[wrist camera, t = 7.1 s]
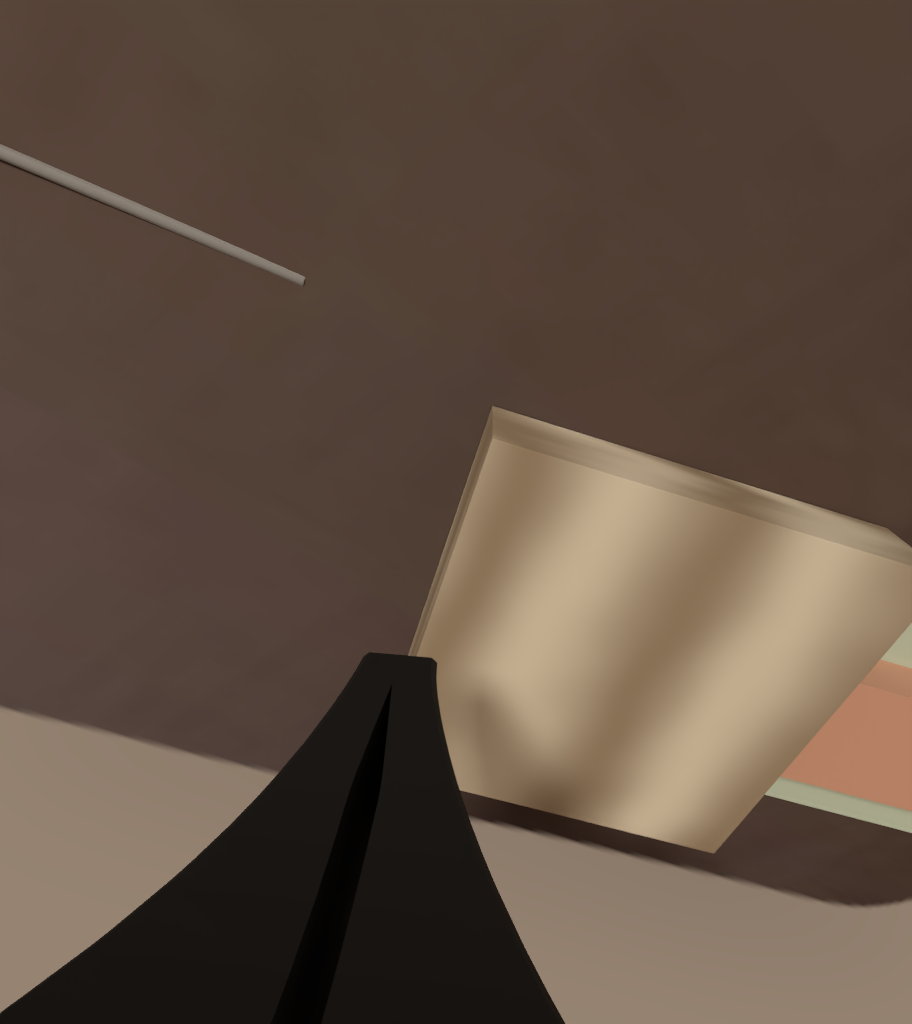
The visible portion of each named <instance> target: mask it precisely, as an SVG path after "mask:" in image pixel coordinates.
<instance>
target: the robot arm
mask: <svg viewBox="0 0 912 1024" xmlns="http://www.w3.org/2000/svg"><path fill="white" fill-rule="evenodd" d="M0 1024H565V1023H564V1021H563V1019H562V1017H561V1015H560V1013H559V1012H558V1010H557V1008H556V1006H555V1005H554V1003H553V1001H552V999H551V997H550V995H549V994H548V992H547V990H546V988H545V986H544V984H543V982H542V980H541V978H540V976H539V974H538V972H537V971H536V969H535V967H534V965H533V963H532V961H531V959H530V957H529V955H528V954H527V951H526V949H525V948H524V945H523V943H522V941H521V939H520V937H519V935H518V933H517V931H516V928H515V926H514V924H513V922H512V920H511V918H510V916H509V913H508V911H507V909H506V907H505V905H504V903H503V901H502V898H501V896H500V894H499V892H498V890H497V888H496V885H495V883H494V881H493V878H492V876H491V874H490V871H489V869H488V866H487V864H486V861H485V859H484V857H483V854H482V852H481V849H480V846H479V844H478V841H477V839H476V836H475V833H474V831H473V828H472V825H471V823H470V820H469V817H468V814H467V811H466V808H465V805H464V802H463V799H462V796H461V793H460V790H459V786H458V783H457V780H456V777H455V773H454V770H453V766H452V762H451V759H450V755H449V751H448V746H447V742H446V738H445V734H444V729H443V725H442V720H441V714H440V708H439V701H438V693H437V662H436V661H435V660H434V659H433V658H430V657H418V656H406V655H394V654H382V653H370V652H369V653H368V654H367V655H365V656H364V657H363V659H362V660H361V662H360V664H359V666H358V667H357V669H356V671H355V672H354V674H353V676H352V677H351V679H350V680H349V682H348V683H347V685H346V686H345V688H344V689H343V691H342V692H341V694H340V695H339V697H338V698H337V700H336V701H335V702H334V704H333V705H332V707H331V708H330V709H329V711H328V712H327V713H326V715H325V716H324V717H323V719H322V720H321V721H320V723H319V724H318V725H317V727H316V728H315V729H314V731H313V732H312V733H311V735H310V736H309V737H308V739H307V740H306V741H305V742H304V744H303V745H302V746H301V747H300V748H299V750H298V751H297V752H296V753H295V754H294V755H293V757H292V758H291V759H290V760H289V761H288V763H287V764H286V765H285V766H284V767H283V769H282V770H281V771H280V772H279V773H278V775H277V776H276V777H275V778H274V779H273V780H272V781H271V782H270V784H269V785H268V786H267V787H266V788H265V789H264V790H263V791H262V792H261V793H260V795H259V796H258V797H257V798H256V799H255V800H254V801H253V802H252V803H251V804H250V805H249V806H248V807H247V808H246V809H245V810H244V811H243V812H242V813H241V814H240V815H239V816H238V817H237V818H236V820H235V821H234V822H233V823H232V824H231V825H230V826H229V827H228V828H227V829H225V831H223V832H222V833H221V834H220V835H219V836H218V837H217V838H216V839H215V840H214V841H213V842H212V843H211V844H210V845H209V846H208V847H207V848H206V849H204V850H203V851H202V852H201V853H200V854H199V855H198V856H197V857H196V858H195V859H194V860H193V861H192V862H191V863H189V864H188V865H187V866H186V867H185V868H184V869H183V870H182V871H181V872H179V873H178V874H177V875H176V876H175V877H174V878H173V879H172V880H170V881H169V882H168V883H167V884H166V885H164V886H163V887H162V888H161V889H160V890H158V891H157V892H156V893H155V894H154V895H152V896H151V897H150V898H149V899H148V900H146V901H145V902H144V903H143V904H142V905H140V906H139V907H138V908H137V909H136V910H134V911H133V912H132V913H131V914H130V915H128V916H127V917H126V918H125V919H124V920H122V921H121V922H120V923H119V924H118V925H116V926H115V927H114V928H113V929H112V930H110V931H109V932H108V933H107V934H105V935H104V936H103V937H102V938H100V939H99V940H98V941H96V942H95V943H94V944H92V945H91V946H90V947H89V948H87V949H86V950H84V951H83V952H82V953H80V954H79V955H78V956H77V957H75V958H74V959H72V960H71V961H70V962H68V963H67V964H66V965H64V966H63V967H62V968H60V969H59V970H58V971H56V972H55V973H54V974H52V975H51V976H49V977H48V978H47V979H46V980H44V981H43V982H41V983H40V984H39V985H37V986H36V987H35V988H33V989H32V990H31V991H29V992H28V993H27V994H25V995H24V996H23V997H21V998H20V999H18V1000H17V1001H16V1002H14V1003H13V1004H11V1005H10V1006H9V1007H7V1008H6V1009H5V1010H3V1011H2V1012H1V1013H0Z"/></svg>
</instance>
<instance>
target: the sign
mask: <svg viewBox="0 0 912 1024" xmlns="http://www.w3.org/2000/svg"><path fill="white" fill-rule="evenodd" d="M0 159H1V160H3V161H5V162H8V163H10V164H12V165H15V166H17V167H20V168H22V169H24V170H27V171H29V172H31V173H34V174H36V175H38V176H41V177H43V178H46V179H48V180H50V181H53V182H55V183H57V184H60V185H62V186H65V187H67V188H69V189H72V190H74V191H76V192H79V193H81V194H83V195H86V196H88V197H91V198H93V199H95V200H98V201H100V202H102V203H105V204H107V205H110V206H112V207H114V208H117V209H119V210H121V211H124V212H126V213H128V214H131V215H133V216H136V217H138V218H140V219H143V220H145V221H148V222H150V223H152V224H155V225H157V226H160V227H162V228H164V229H167V230H169V231H171V232H174V233H176V234H179V235H181V236H183V237H186V238H188V239H191V240H193V241H195V242H198V243H200V244H203V245H205V246H207V247H210V248H212V249H214V250H217V251H219V252H222V253H224V254H227V255H229V256H231V257H234V258H236V259H239V260H241V261H243V262H246V263H248V264H251V265H253V266H256V267H258V268H260V269H263V270H265V271H268V272H270V273H273V274H275V275H277V276H280V277H282V278H285V279H287V280H290V281H292V282H294V283H297V284H299V285H302V286H303V284H304V281H305V277H304V276H301V275H299V274H297V273H295V272H292V271H290V270H288V269H286V268H283V267H281V266H279V265H277V264H274V263H272V262H270V261H268V260H265V259H263V258H261V257H259V256H256V255H254V254H252V253H250V252H247V251H245V250H243V249H241V248H238V247H236V246H234V245H232V244H229V243H227V242H225V241H222V240H220V239H218V238H216V237H213V236H211V235H209V234H206V233H204V232H202V231H200V230H197V229H195V228H193V227H190V226H188V225H186V224H184V223H181V222H179V221H177V220H174V219H172V218H170V217H168V216H165V215H163V214H161V213H158V212H156V211H154V210H152V209H149V208H147V207H145V206H142V205H140V204H138V203H136V202H133V201H131V200H129V199H126V198H124V197H122V196H119V195H117V194H115V193H112V192H110V191H108V190H106V189H103V188H101V187H99V186H96V185H94V184H92V183H89V182H87V181H85V180H82V179H80V178H78V177H75V176H73V175H71V174H68V173H66V172H64V171H62V170H59V169H57V168H55V167H52V166H50V165H48V164H45V163H43V162H41V161H38V160H36V159H34V158H31V157H29V156H27V155H24V154H22V153H20V152H18V151H15V150H13V149H11V148H8V147H6V146H3V145H1V144H0Z"/></svg>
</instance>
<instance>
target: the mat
mask: <svg viewBox="0 0 912 1024" xmlns="http://www.w3.org/2000/svg"><path fill="white" fill-rule="evenodd" d="M881 660H884V661H888V662H891V663H894V664H898V665H901V666H905V667H908V668H912V623H911V624H910V625H909V626H908V628H907V629H906V630H905V631H904V632H903V633H902V635H901V636H900V637H899V638H898V639H897V640H896V642H895V643H894V644H893V645H892V646H891V647H890V649H889V650H888V651H887V652H886V653H885V654H884V656H883V657H882V658H881ZM764 795H768V796H772V797H776V798H780V799H784V800H787V801H791V802H795V803H799V804H803V805H807V806H810V807H814V808H818V809H822V810H826V811H830V812H833V813H837V814H841V815H845V816H849V817H853V818H856V819H860V820H864V821H868V822H872V823H876V824H879V825H883V826H887V827H891V828H895V829H899V830H902V831H906V832H910V833H912V811H909V810H905V809H901V808H897V807H893V806H890V805H886V804H882V803H878V802H875V801H871V800H867V799H863V798H859V797H856V796H852V795H848V794H844V793H841V792H837V791H833V790H829V789H825V788H822V787H818V786H814V785H810V784H807V783H803V782H799V781H795V780H791V779H788V778H784V777H779V778H778V779H777V780H776V782H775V783H774V784H773V785H772V786H771V787H770V789H769V790H768V791H767V792H766V793H765V794H764Z"/></svg>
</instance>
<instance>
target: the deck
mask: <svg viewBox="0 0 912 1024" xmlns="http://www.w3.org/2000/svg"><path fill="white" fill-rule="evenodd" d="M911 623H912V548H911V547H910V546H909V545H908V544H906V543H905V542H904V541H902V540H901V539H900V538H899V537H897V536H896V535H895V534H894V533H892V532H891V531H890V530H888V529H887V528H885V527H881V526H878V525H875V524H872V523H868V522H865V521H862V520H859V519H856V518H852V517H849V516H846V515H843V514H839V513H836V512H833V511H830V510H826V509H823V508H820V507H817V506H814V505H810V504H807V503H804V502H801V501H797V500H794V499H791V498H788V497H785V496H781V495H778V494H775V493H772V492H768V491H765V490H762V489H759V488H756V487H752V486H749V485H746V484H743V483H739V482H736V481H733V480H730V479H726V478H723V477H720V476H717V475H714V474H710V473H707V472H704V471H701V470H697V469H694V468H691V467H688V466H685V465H681V464H678V463H675V462H672V461H668V460H665V459H662V458H659V457H655V456H652V455H649V454H646V453H643V452H639V451H636V450H633V449H630V448H626V447H623V446H620V445H617V444H614V443H610V442H607V441H604V440H601V439H597V438H594V437H591V436H588V435H584V434H581V433H578V432H575V431H572V430H568V429H565V428H562V427H559V426H555V425H552V424H549V423H546V422H543V421H539V420H536V419H533V418H530V417H526V416H523V415H520V414H517V413H514V412H510V411H507V410H504V409H501V408H497V407H494V406H492V409H491V412H490V415H489V418H488V421H487V424H486V427H485V429H484V432H483V435H482V438H481V441H480V444H479V447H478V450H477V453H476V456H475V459H474V462H473V465H472V468H471V471H470V474H469V477H468V480H467V483H466V486H465V488H464V491H463V494H462V497H461V500H460V503H459V506H458V509H457V512H456V515H455V518H454V521H453V524H452V527H451V530H450V533H449V536H448V539H447V542H446V544H445V547H444V550H443V553H442V556H441V559H440V562H439V565H438V568H437V571H436V574H435V577H434V580H433V583H432V586H431V589H430V592H429V595H428V598H427V601H426V603H425V606H424V609H423V612H422V615H421V618H420V621H419V624H418V627H417V630H416V633H415V636H414V639H413V642H412V645H411V648H410V651H409V654H408V656H418V657H430V658H433V659H434V660H435V661H436V662H437V693H438V701H439V708H440V714H441V720H442V725H443V729H444V734H445V738H446V742H447V746H448V751H449V755H450V759H451V762H452V766H453V770H454V773H455V777H456V780H457V783H458V786H459V790H461V791H465V792H469V793H473V794H477V795H481V796H485V797H489V798H493V799H497V800H501V801H505V802H509V803H513V804H517V805H521V806H525V807H529V808H533V809H538V810H542V811H546V812H550V813H554V814H558V815H562V816H566V817H570V818H574V819H578V820H582V821H586V822H590V823H594V824H598V825H602V826H606V827H610V828H614V829H618V830H622V831H626V832H630V833H634V834H638V835H642V836H646V837H650V838H654V839H658V840H662V841H666V842H670V843H674V844H678V845H682V846H686V847H690V848H694V849H698V850H702V851H706V852H710V853H715V852H716V850H717V849H718V848H719V847H720V846H721V845H722V843H723V842H724V841H725V840H726V839H727V838H728V836H729V835H730V834H731V833H732V832H733V831H734V829H735V828H736V827H737V826H738V825H739V824H740V822H741V821H742V820H743V819H744V818H745V817H746V815H747V814H748V813H749V812H750V811H751V810H752V808H753V807H754V806H755V805H756V804H757V803H758V801H759V800H760V799H761V798H762V797H763V796H764V794H765V793H766V792H767V791H768V790H769V789H770V787H771V786H772V785H773V784H774V783H775V782H776V780H777V779H778V778H779V777H780V776H781V775H782V773H783V772H784V771H785V770H786V769H787V768H788V766H789V765H790V764H791V763H792V762H793V761H794V759H795V758H796V757H797V756H798V755H799V754H800V752H801V751H802V750H803V749H804V748H805V747H806V745H807V744H808V743H809V742H810V741H811V740H812V738H813V737H814V736H815V735H816V734H817V733H818V731H819V730H820V729H821V728H822V727H823V726H824V724H825V723H826V722H827V721H828V720H829V719H830V717H831V716H832V715H833V714H834V713H835V712H836V710H837V709H838V708H839V707H840V706H841V705H842V703H843V702H844V701H845V700H846V699H847V698H848V696H849V695H850V694H851V693H852V692H853V691H854V689H855V688H856V687H857V686H858V685H859V684H860V682H861V681H862V680H863V679H864V678H865V677H866V675H867V674H868V673H869V672H870V671H871V670H872V668H873V667H874V666H875V665H876V664H877V663H878V661H879V660H880V659H881V658H882V657H883V656H884V654H885V653H886V652H887V651H888V650H889V649H890V647H891V646H892V645H893V644H894V643H895V642H896V640H897V639H898V638H899V637H900V636H901V635H902V633H903V632H904V631H905V630H906V629H907V628H908V626H909V625H910V624H911Z"/></svg>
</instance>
